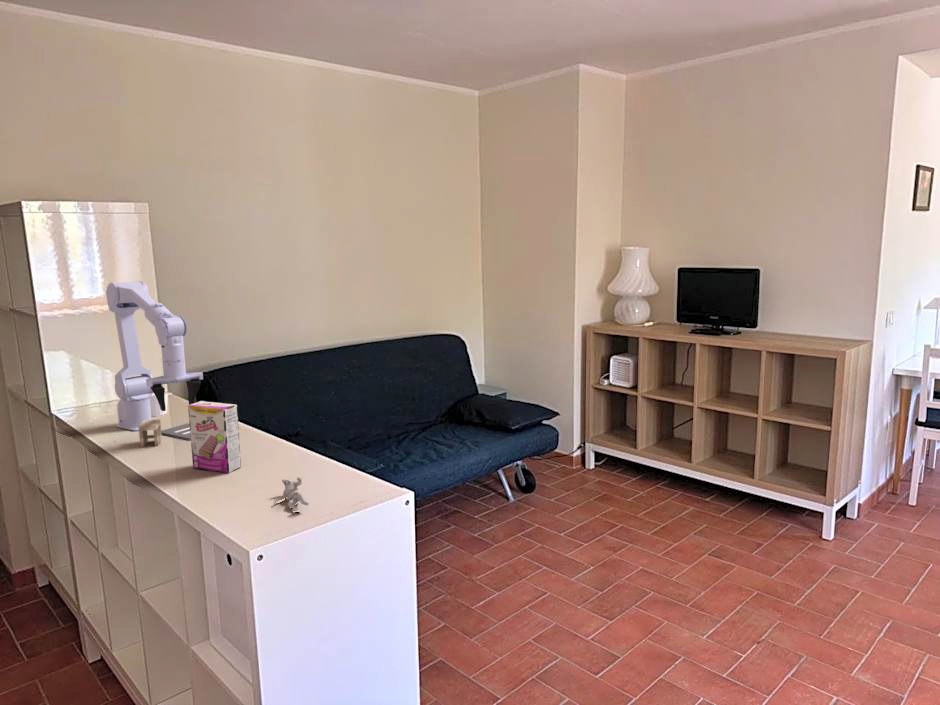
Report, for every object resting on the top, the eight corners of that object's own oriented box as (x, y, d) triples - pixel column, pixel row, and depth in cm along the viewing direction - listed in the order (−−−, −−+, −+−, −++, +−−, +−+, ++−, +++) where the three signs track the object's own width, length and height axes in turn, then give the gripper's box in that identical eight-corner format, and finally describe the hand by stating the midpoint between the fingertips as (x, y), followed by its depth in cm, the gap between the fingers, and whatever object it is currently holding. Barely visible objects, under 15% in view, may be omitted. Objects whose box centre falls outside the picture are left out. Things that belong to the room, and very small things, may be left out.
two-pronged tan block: (140, 447, 177) (138, 426, 176) (145, 441, 183) (143, 420, 182) (157, 446, 179) (156, 425, 178) (162, 439, 185) (160, 419, 184)
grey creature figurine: (281, 522, 132) (262, 487, 141) (296, 530, 136) (277, 496, 144) (308, 493, 133) (288, 461, 141) (323, 503, 136) (302, 470, 145)
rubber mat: (158, 433, 190) (157, 431, 190) (187, 425, 199) (187, 423, 199) (189, 440, 184) (189, 438, 184) (218, 431, 192) (218, 429, 192)
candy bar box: (191, 469, 160) (186, 405, 157) (206, 462, 165) (201, 400, 162) (228, 474, 157) (224, 408, 154) (242, 467, 161) (238, 403, 159)
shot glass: (173, 411, 215) (171, 391, 214) (161, 417, 208) (160, 396, 207) (154, 411, 216) (152, 390, 215) (141, 416, 209) (139, 395, 208)
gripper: (150, 365, 171) (154, 415, 174) (205, 359, 181) (208, 406, 183) (142, 362, 177) (146, 410, 179) (196, 355, 186) (199, 401, 188)
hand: (177, 407), depth 181 cm, fingers open, 7 cm apart
